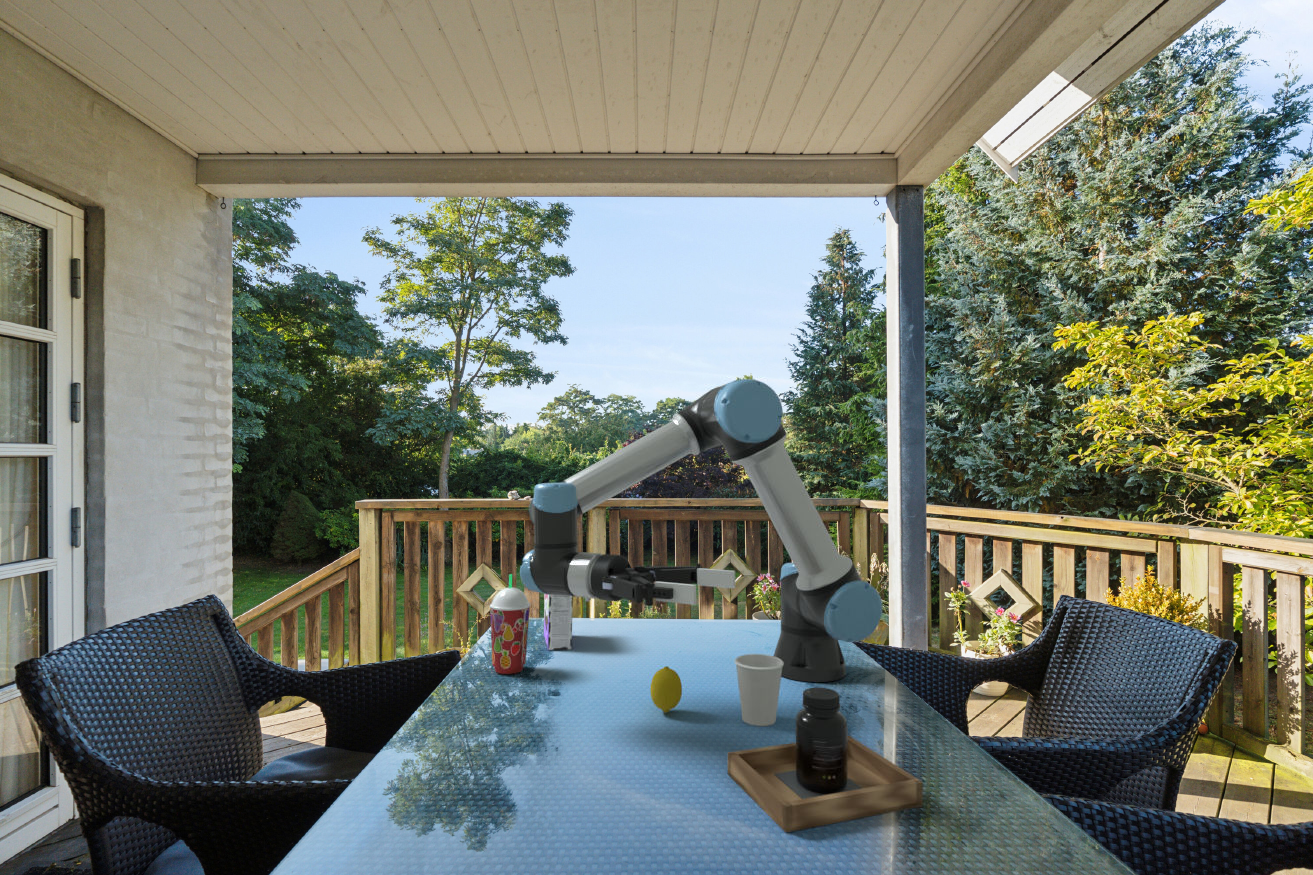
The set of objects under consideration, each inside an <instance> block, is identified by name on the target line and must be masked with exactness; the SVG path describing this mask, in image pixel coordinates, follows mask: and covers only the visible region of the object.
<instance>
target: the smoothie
mask: <svg viewBox="0 0 1313 875" xmlns="http://www.w3.org/2000/svg"><path fill="white" fill-rule="evenodd" d="M530 607H531V603H530V602H529V600H528V598H527V595H526V594H525V593H524V592H523V591H522V590H521V589H519V588H517V587H514V586H513V574H512V573H511V574H509V575H508V587H505V588H503V589H501V590H500V591H498V592H497V593H496V594H495V595H494V597H493V598H492V601H491V603H490V604H489V612H490V613H489V614H490V634H491V635H490V636H491V654H492V655H491V661H492V666H493V667H494V671H495V672H496V673H497V674H501V675H513V674H517V673H520V672H522V671H523V669H524V665H526V660H527V650H528V649H527V648H528V637H529V636H528V635H529V624H530V612H531V611H530V609H531V608H530Z"/></svg>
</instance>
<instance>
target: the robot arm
mask: <svg viewBox="0 0 1313 875" xmlns="http://www.w3.org/2000/svg"><path fill="white" fill-rule="evenodd" d="M783 413H784V410H783V406H782V402H781V399H780V397H779V396H778V394H777V392H776V391H775V390H774V389H773V388H772V387H771V386H770V385H768V384H767V383H765V382H763V381H760V380H758V379H751V378H749V379H748V378H747V379H745V378H742V379H736V380H733V381H730V382H728V383H726V384H725V383H724V384H723V385H720V386H717V387H714V388H712V389H709V390H708V391H707V392H705V393H704V394H703V395H702V396H700V397H699V398H698V399H696V400H695V401H693V402H692V403H691V404H689V405H687V406H686V407H684V408H683V409H681V410H679V411H677V412H676V413H674V414H673V415H672V419H671V420H670V421H669V422H668V423H666V424H664V425H662V426H660V427H659V428H657V429H655V430H653V431H651V432H649V433H648V434H646V435H644V436H643V437H641V438H639V439H637V440H635V441H633V442H631V443H629V444H628V445H626V446H624V447H622V448H620V449H618V450H617V451H615V452H613V453H612V454H609V455H608V456H606V457H604V458H602V459H601V460H598V461H597V462H595V463H593V464H591V465H589V466H587V467H586V468H584V469H582V470H580V471H579V472H577V473H575V474H573V475H571V476H569V477H567V478H566V479H564V480H563V481H561V482H544V483H542V482H541V483H538V484H536V485H535V486H534V489H533V498H532V499H531V500H530V503H529V506H528V514H529V518H530V520H531V522H532V523H533V532H534V536H533V537H534V542H533V543H534V544H533V549H531V550H530V551H528V552H526V554H525V555H524V556H523V558H522V565H520V567H519V575H520V580H521V582H522V584H523V586H524V587H525V588H526V589H528V590H529V591H531V592H535V593H541V594H547V595H550V594H552V595H565V596H573V597H576V598H584V600H585V602H590V601H591V599H595V600H602V601H608V602H609V601H611V602H620V601H621V600H623V599H625V600H627V601H630V602H633V603H637V604H642V603H644V605H645V607H652V606H653V605H654V601H656V602H664V603H674V604H683V605H690V606H691V605H692V606H695V605H697V586H700V587H712V588H723V589H735V588H736V570H727V569H715V568H703V566H702V565H701V563H699V562H698V563H695V565H689V566H688V565H676V566H675V565H674V566H673V565H670V566H669V565H668V566H667V565H664V566H663V565H662V566H661V565H658V566H657V565H648V564H647V565H634V566H633V568H632V566H631V564H630V561H629V560H628V558H626V557H625V556H624V555H621V554H611V553H610V554H609V553H608V554H607V553H604V554H603V553H600V552H599V553H597V552H585V551H584V552H578V517H580V516H581V515H583V514H584V513H586V512H589V511H590V510H592V509H593V508H595V507H596V506H599V505H600V504H603V503H604V502H606V501H608V500H609V499H611V498H613V497H615V496H617V495H618V494H620V493H622V492H624V491H626V490H628V489H629V488H631V487H632V486H635V485H636V484H638V483H640V482H642V481H644V480H645V479H647V478H648V477H650V476H652V475H655V474H656V473H658V472H660V471H661V470H663V469H665V468H667V467H668V466H671V465H673V463H676V462H677V461H679V460H681V459H683V458H684V457H686V456H689V454H690V455H694V456H698V455H701V453H703V452H706V451H707V450H709V449H712V448H715V447H719V446H723V448H724V450H725V452H726V454H727V455H728V457H729V459H730V461H731V462H732V463H733V464H737V465H740V466H742V467H743V469H744V471H745V473H746V474H747V476H748V478H749V480H750V482H751V485H752V486H753V488H754V490H755V492H756V495H757V496H758V498H759V500H760V502H761V503H762V505H763V507H764V509H765V511H766V513H767V515H768V517H769V519H770V520H771V522H772V525H773V527H774V530H776V533H777V535H778V536H779V538H780V540H781V541H782V544H783V546H784V548H785V550H786V551H787V554H788V555H789V558H790V559H791V561H792V562H786V563H784V564H783V565H781V566H782V567H781V569H780V570H781V571H780V577H779V582H780V635H779V638H778V641H777V643H776V647H775V650H774V653H773V655H772V656H774V657H777V658H779V659H781V660H782V661H783V662H784V665H783V666H782V673H781V677H783V678H786V679H790V680H795V681H801V682H809V683H824V682H825V683H826V682H833V681H837V680H841V679H843V678H844V677H846V673H847V672H846V671H847V670H846V665H847V664H846V661H845V657H844V655H843V652H842V648H841V646H840V642H839V641H842V642H846V643H856V642H857V643H859V642H862V641H863V640H866V639H867V638H868V637H870V636H871V635H872V634H873V633H874V632H875V631H876V629H877V628H878V626H879V624H880V621H881V617H883V616H882V615H883V601H882V598H881V595H880V594H879V591H878V590H877V589H876V588H875V587H874V586H873V585H871V584H870V583H869V582H867V581H865V580H862V578H861V575H860V574H859V572H858V570H857V568H856V566H855V563H854V562H853V560H852V558H850V557H848V556H846V555H841V554H840V553H839V551H838V549H837V547H836V545H835V543H834V541H833V539H832V537H831V535H830V533H829V531H828V530H827V527H826V525H825V524H824V521H823V520H822V517H821V516H820V514H819V512H818V510H817V508H816V506H815V504H814V502H813V500H812V498H811V496H810V494H809V493H808V491H807V488H806V486H805V484H804V483H803V481H802V478H801V477H800V475H799V473H798V471H797V469H796V467H795V465H794V463H793V461H792V459H791V457H790V456H789V453H788V451H787V449H786V447H785V442H786V439H787V435H788V434H787V431H786V430H785V428H784V424H783V423H782V419H783V418H782V417H783Z"/></svg>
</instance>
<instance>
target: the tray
mask: <svg viewBox="0 0 1313 875" xmlns="http://www.w3.org/2000/svg"><path fill="white" fill-rule="evenodd" d="M847 772H848V774H847V785H846V787H845V788H844V789H843V790H841V791H839V792H836V793H817V792H813V791H810V790H808V789H806V788H804V787H803V786H801V785H800V784H799V782H798V781H797V779H796V742H791V743H784V744H776V745H770V746H763V747H757V748H749V749H743V750H736V751H730V752H727V775H728V776H729V777H730V778H731V779H732V781H733V782H735V783H736V784H737V785H738V787H740V789H742V791H744V792H745V793H746V794H747V796H749V797H750V798H751V799H752V801H754V802H755V803H756V805H758V806H759V808H761V809H762V811H764V812H765V814H766V815H768V817H769V818H770V819H771V820H772V821H774V822H775V824H777V826H779V828H781V829H782V831H784V833H786V834H787V833H791V832H796V831H801V830H808V829H811V828H817V827H822V826H826V825H833V824H838V823H841V822H847V821H853V820H858V819H863V818H867V817H868V818H869V817H873V816H878V815H879V816H880V815H883V814H889V813H894V812H899V811H904V810H909V809H914V808H919V807H923V806H924V795H923V794H924V793H923V792H924V788H923V786H924V782H923V781H922V780H920V779H918V777H916V776H914V775H912V774H911V773H909V772H907V771H906V770H904V769H903V768H901V767H899V766H898V765H896V763H893V762H891V761H890V760H889V759H887V758H885V757H883V756H882V755H881V754H879V753H877V752H876V751H874V749H873V750H872V749H871V748H870V747H868V746H866V745H865V744H863V743H862V742H860V741H859V740H857V739H855V738H854V737H852V736H851V735H849V734H847Z"/></svg>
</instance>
